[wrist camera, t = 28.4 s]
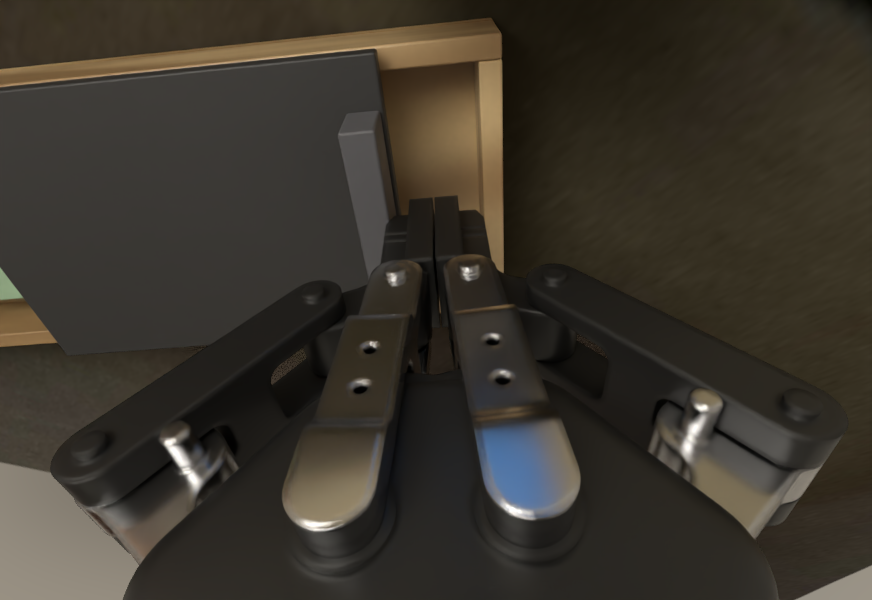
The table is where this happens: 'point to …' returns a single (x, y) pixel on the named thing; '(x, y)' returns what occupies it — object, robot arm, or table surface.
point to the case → (405, 107)
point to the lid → (191, 195)
